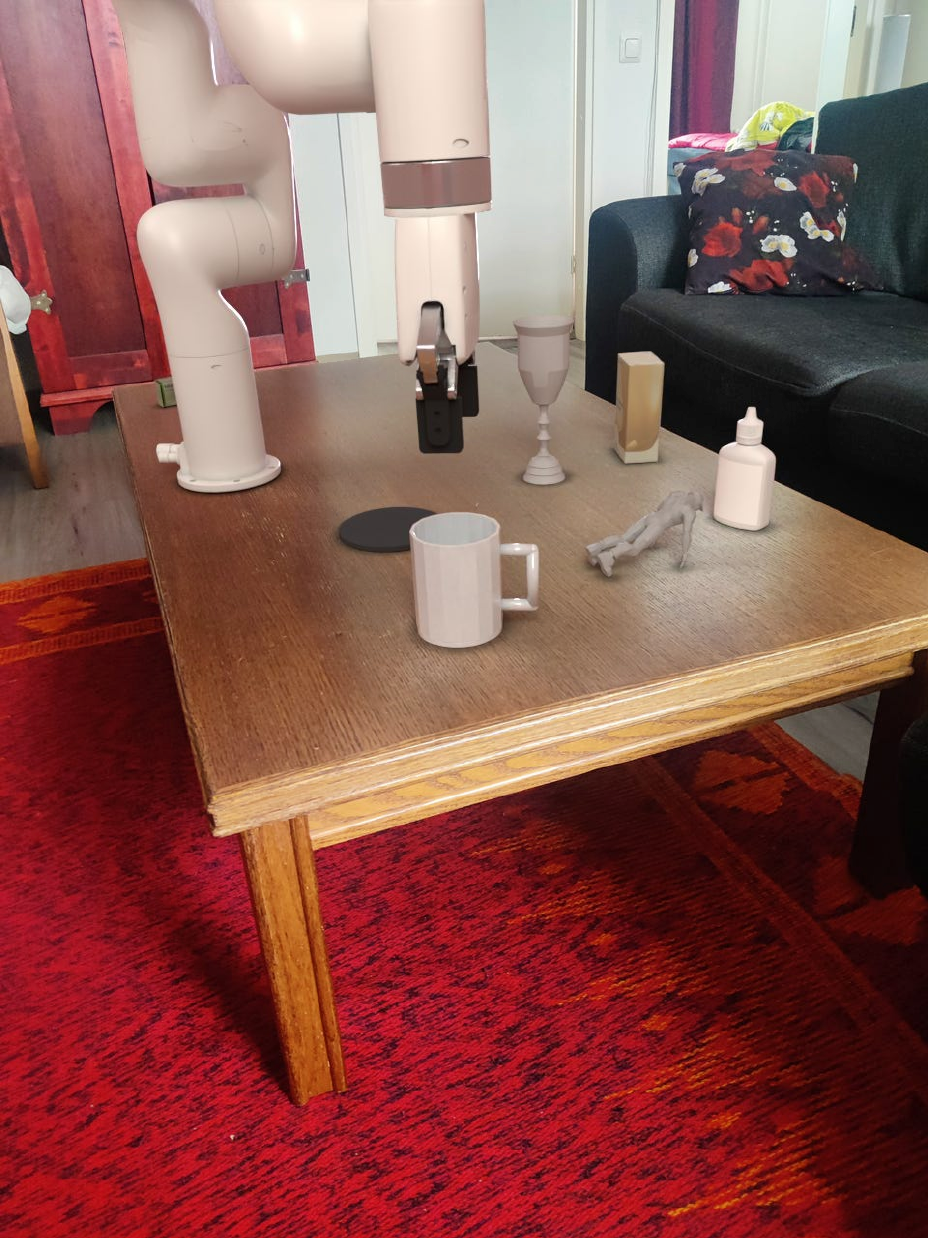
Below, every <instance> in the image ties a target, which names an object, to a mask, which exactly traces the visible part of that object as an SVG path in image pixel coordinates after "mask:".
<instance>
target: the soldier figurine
mask: <svg viewBox="0 0 928 1238" xmlns="http://www.w3.org/2000/svg"><path fill="white" fill-rule="evenodd" d="M704 501H705V499H704V496H703V494H702V493H701V492H700V491H698V490H690V491H689V492H688V493H687V492H685V491H683V490H675V491H671V492H670V493H669V494H668V496H666V497H665V498H664V499H663V500H662V501H661V502H660V504H658V507H657V510H655V511H654V512H651V513H648V514H647V515H644V516H643V517H642V518H640V519H639V520H637V521H636V522H635V523H634V524H632V525H631V526H630V527H629V528H628V529H627V530H626V531H625V532H624V533H623V534H622V535H618V534H612V535H608V536H606V537H605V538H604V539H603V540H599V541H597V542H595V543H592V544H589V545H587V546H585V547H584V548H585V552H586V559H587V560H588V562H589V563H590V565H592V566H593V567H595V566H597V564H598V563H599V565H600V571H602V573H603V574H604V576H606V577H608V578H610V577H611V576H612V575H613V569H612V568H613V565H614V563H615V560H617V559H619V558H620V557H625V556H627V557H637V556H638V554H639V553H640V552H641V551H642V550H644V549H648V548H653V546H654V545H656V544H657V541H658V539H659V538H661V536H662V535H665V532H666V531H667V530H668V529H670V528H672V527H675V526H679V525H682V533H681V535H680V544H681V551H682V554H681V557H680V558H679V560H678V561H679V562H681V563H680V565H679V569H682V568H683V566H685V563H686V562H687V561H688V560H687V559H688V552H689V550H690V548H691V544H692V532H693V525H694V523H695V520H696V518H697V513H696V512H697V511H700V512H701V513H702V512H704ZM607 550H608V551H607Z"/></svg>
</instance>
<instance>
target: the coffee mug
mask: <svg viewBox="0 0 928 1238" xmlns="http://www.w3.org/2000/svg"><path fill="white" fill-rule="evenodd" d="M501 530H502V529H501V524H500V523H499V522H498V521H497V519H496V518H493V517H490V516H489V515H487V514H481V513H476V512H470V511H452V512H444V513H437V514H436V515H432V516H429V517H426V518H423V519H421V520H419V521H418V522H416V523H415V524H413V525H412V527H411V529H410V531H409V534H410V547H411V549H410V558H411V572H412V573H411V574H412V585H413V599H414V610H415V625H416V627H417V628H416V629H417V634H418V635H419V637H420V638H421V639H422V640H423V641H425V642H427V643H428V644H431V645H434V646H437V647H442V648H449V649H463V648H473V647H477V646H480V645H483V644H486V643H489V642H491V641H492V640H494V639H496V638H497V637H498V636H499V635H500V634H501V632H502V631H503V625H504V624H503V621H504V611H507V612H508V611H510V612H511V611H513V612H535V611H537V610H538V609H539V607H540V561H539V560H540V552H539V551H540V549H539V547H538V545H537V544H536V543H503V542H502V536H501V535H502V532H501ZM502 557H525V559H526V560H525V561H526V562H525V563H526V565H525V568H526V598H508V597H507V598H505V597H503V572H502V571H503V570H502V569H503V568H502Z"/></svg>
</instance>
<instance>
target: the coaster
mask: <svg viewBox="0 0 928 1238" xmlns="http://www.w3.org/2000/svg"><path fill="white" fill-rule="evenodd" d="M436 514H438V513H437V512H436V511H433V510H431V509H426V508H421V507H415V506H387V507H379V508H373V509H369V510H366V511H362V512H360V513H357V514H354V515H352V516H350V517H348V518H347V519H345V520H344V521H343V522H342V523H341V524H340V526H339V527H338V535H339V539H340V541H341V542H342V544H345V545H346V546H348V547H350V548H353V549H355V550H360V551H364V552H372V553H394V552H404V551H411V547H410V534H409V531H410V529H411V527H412V525H413V524H415V523H416V522H418V521H419V520H421V519H423V518H426V517H429V516H432V515H436Z"/></svg>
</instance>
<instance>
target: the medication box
mask: <svg viewBox="0 0 928 1238" xmlns="http://www.w3.org/2000/svg"><path fill="white" fill-rule="evenodd" d="M153 384H154V389H155V394H156V400H157V404H158V406H159V407H160V408H163V409H164V408H165V407H172V406H175V405H176V406H177V403H176V397H175V392H174V387H173V381H172V376H168V377H163V378H158V379H154V380H153Z"/></svg>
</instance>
